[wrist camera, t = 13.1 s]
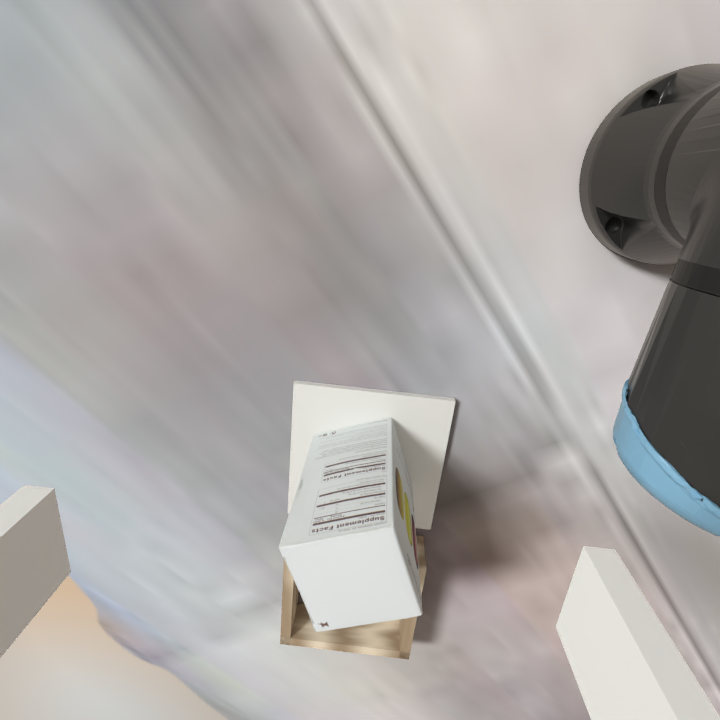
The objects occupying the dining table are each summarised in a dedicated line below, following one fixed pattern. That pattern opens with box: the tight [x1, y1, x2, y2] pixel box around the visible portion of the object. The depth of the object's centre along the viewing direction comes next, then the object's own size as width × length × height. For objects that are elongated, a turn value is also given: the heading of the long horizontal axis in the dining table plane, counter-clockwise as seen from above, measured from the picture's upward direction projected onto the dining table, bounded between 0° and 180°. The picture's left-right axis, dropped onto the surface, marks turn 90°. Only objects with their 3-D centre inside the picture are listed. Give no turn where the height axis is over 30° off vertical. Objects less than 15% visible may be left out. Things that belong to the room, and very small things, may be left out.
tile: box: [288, 380, 456, 530], centre depth 50 cm, size 17×17×1 cm
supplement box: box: [279, 418, 423, 632], centre depth 42 cm, size 10×9×17 cm
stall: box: [280, 535, 427, 659], centre depth 55 cm, size 16×15×5 cm
